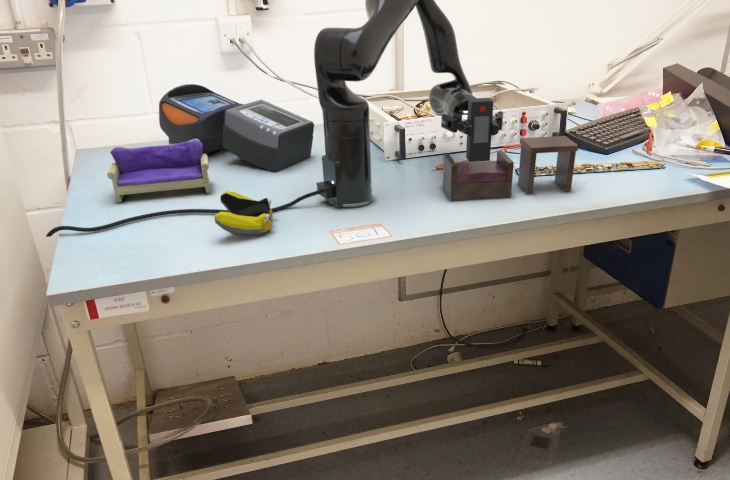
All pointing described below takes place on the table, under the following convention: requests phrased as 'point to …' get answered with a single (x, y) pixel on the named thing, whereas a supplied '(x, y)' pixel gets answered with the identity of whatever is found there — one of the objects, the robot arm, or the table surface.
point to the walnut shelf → (547, 145)
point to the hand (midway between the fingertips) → (482, 130)
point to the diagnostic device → (236, 127)
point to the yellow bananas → (244, 214)
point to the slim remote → (479, 129)
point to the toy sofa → (159, 168)
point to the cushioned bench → (476, 187)
